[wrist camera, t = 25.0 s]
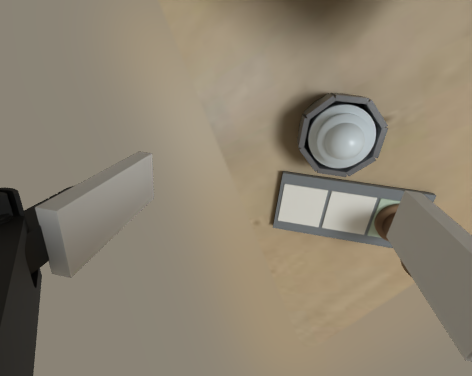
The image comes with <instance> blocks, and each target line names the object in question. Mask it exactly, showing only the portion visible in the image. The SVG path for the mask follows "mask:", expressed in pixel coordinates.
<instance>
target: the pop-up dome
mask: <svg viewBox="0 0 472 376" xmlns="http://www.w3.org/2000/svg"><path fill="white" fill-rule="evenodd" d="M375 139H376V128H375V124H374V121H373V120H372V118H371V116H370V115H369V114H368V113H367V112H366V111H364V110H363V109H361V108H359V107H356V106H354V105H351V104H346V103H339V104H333V105H330V106H328V107H326V108H325V109H324V110H322V111H321V112H319V113H318V114H317V115H316V116H315V117H314V118H313V120H312V121H311V123H310V125H309V128H308V133H307V140H308V145H309V148H310V150H311V153H312V154H313V156H314V157H315V159H316V160H317V161H319V162H320V163H321V164H323V165H325V166H328V167H331V168H346V167H350V166H352V165H355V164H357V163H358V162H360V161H361V160H363V159H364V158H365V157H366V156H367V155H368V154H369V152H370V151H371V149H372V147H373V145H374V143H375Z"/></svg>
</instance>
